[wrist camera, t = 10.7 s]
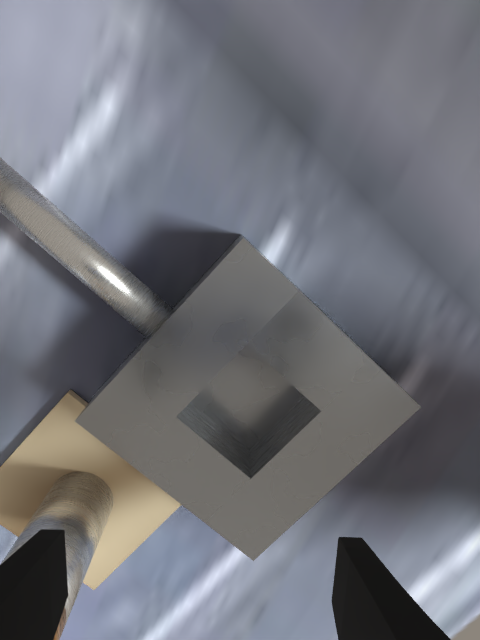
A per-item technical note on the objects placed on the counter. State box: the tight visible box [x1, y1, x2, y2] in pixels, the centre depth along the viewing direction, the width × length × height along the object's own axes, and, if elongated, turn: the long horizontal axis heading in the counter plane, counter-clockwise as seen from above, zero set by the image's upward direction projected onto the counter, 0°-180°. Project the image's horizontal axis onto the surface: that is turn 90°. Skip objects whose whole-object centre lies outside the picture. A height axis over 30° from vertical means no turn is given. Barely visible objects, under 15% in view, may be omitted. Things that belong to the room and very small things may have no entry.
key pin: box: [0, 471, 114, 640], centre depth 18 cm, size 3×3×8 cm
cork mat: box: [0, 389, 181, 590], centre depth 22 cm, size 8×8×1 cm
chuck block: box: [0, 158, 421, 561], centre depth 19 cm, size 19×10×4 cm, turn 47°
